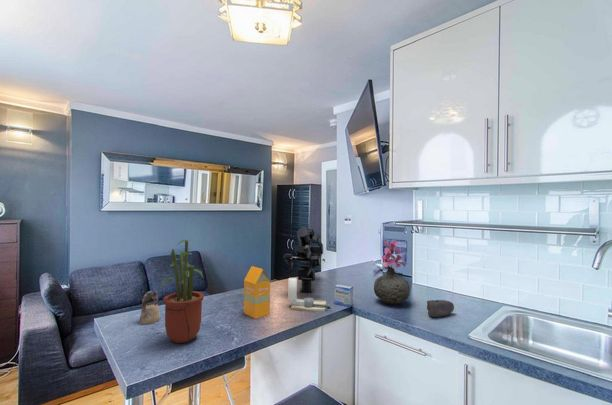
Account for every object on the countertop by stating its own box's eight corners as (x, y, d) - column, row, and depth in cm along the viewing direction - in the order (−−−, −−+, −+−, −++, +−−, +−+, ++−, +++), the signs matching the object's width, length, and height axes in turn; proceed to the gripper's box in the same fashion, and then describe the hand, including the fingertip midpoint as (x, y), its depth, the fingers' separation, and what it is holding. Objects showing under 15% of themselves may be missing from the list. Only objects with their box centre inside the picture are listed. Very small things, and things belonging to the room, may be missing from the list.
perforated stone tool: (449, 311, 132) (449, 296, 133) (458, 316, 128) (458, 300, 128) (422, 315, 128) (422, 299, 128) (430, 319, 123) (431, 303, 123)
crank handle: (329, 305, 133) (329, 280, 133) (327, 309, 129) (327, 283, 129) (289, 301, 138) (290, 277, 138) (286, 304, 134) (287, 279, 134)
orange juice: (258, 308, 132) (258, 264, 132) (269, 314, 126) (270, 268, 126) (243, 313, 127) (243, 267, 127) (254, 319, 120) (255, 270, 121)
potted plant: (207, 341, 100) (209, 240, 100) (157, 354, 91) (159, 243, 91) (194, 324, 114) (195, 235, 115) (150, 333, 105) (151, 237, 106)
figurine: (146, 317, 120) (146, 288, 121) (163, 317, 120) (163, 288, 120) (135, 324, 113) (136, 293, 113) (153, 324, 113) (154, 294, 113)
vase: (416, 304, 142) (417, 242, 142) (395, 312, 131) (396, 245, 131) (387, 295, 155) (387, 238, 155) (365, 301, 144) (366, 241, 144)
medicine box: (334, 304, 140) (334, 286, 140) (337, 301, 144) (338, 283, 144) (349, 307, 136) (350, 288, 136) (353, 304, 140) (353, 286, 140)
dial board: (294, 301, 143) (294, 298, 143) (332, 303, 141) (332, 300, 141) (290, 309, 131) (290, 307, 131) (332, 312, 129) (332, 309, 129)
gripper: (284, 238, 152) (277, 264, 142) (319, 240, 147) (314, 266, 137) (289, 250, 160) (282, 275, 149) (322, 252, 155) (317, 278, 145)
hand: (298, 274), depth 145 cm, fingers open, 9 cm apart
